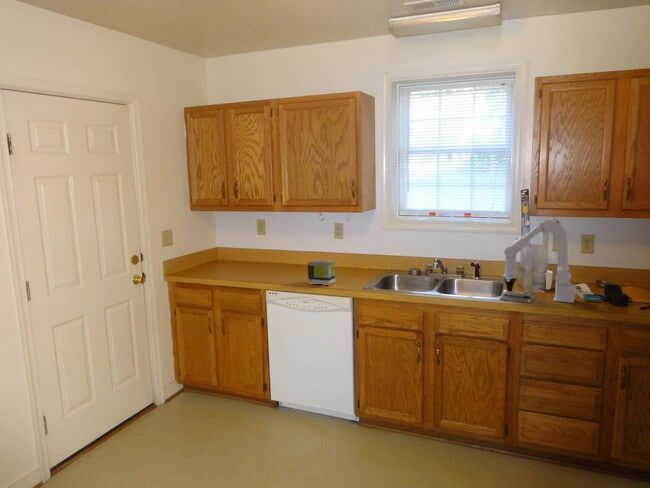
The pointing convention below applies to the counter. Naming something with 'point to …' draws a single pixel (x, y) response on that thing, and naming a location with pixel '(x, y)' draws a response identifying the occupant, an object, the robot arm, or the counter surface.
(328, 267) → the tea box
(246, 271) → the counter surface
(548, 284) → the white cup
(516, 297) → the lock plate
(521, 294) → the lever
